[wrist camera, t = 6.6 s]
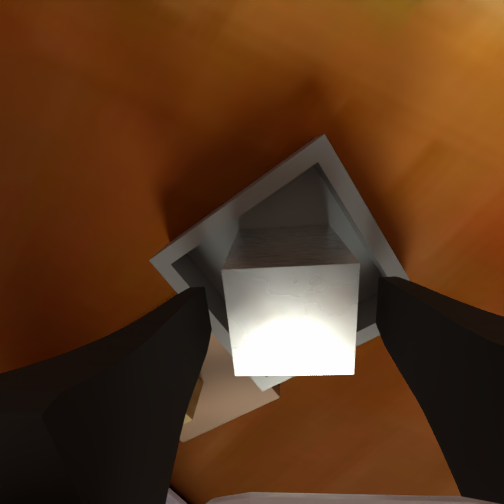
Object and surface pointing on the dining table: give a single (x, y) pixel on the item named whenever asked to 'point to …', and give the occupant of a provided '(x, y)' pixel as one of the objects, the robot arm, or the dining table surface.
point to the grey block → (291, 301)
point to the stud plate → (221, 394)
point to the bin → (281, 215)
